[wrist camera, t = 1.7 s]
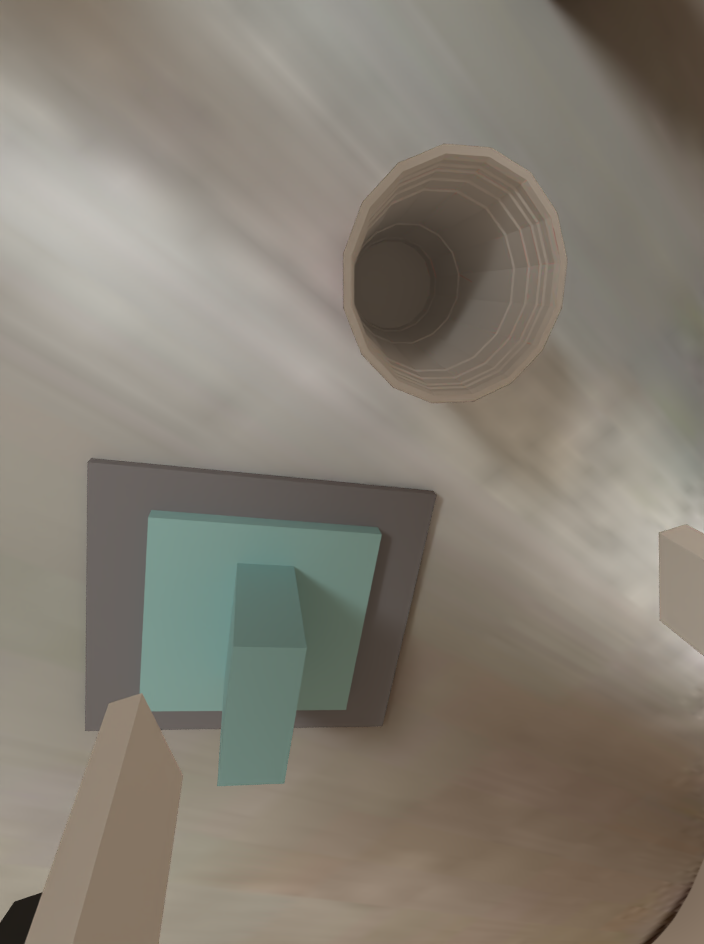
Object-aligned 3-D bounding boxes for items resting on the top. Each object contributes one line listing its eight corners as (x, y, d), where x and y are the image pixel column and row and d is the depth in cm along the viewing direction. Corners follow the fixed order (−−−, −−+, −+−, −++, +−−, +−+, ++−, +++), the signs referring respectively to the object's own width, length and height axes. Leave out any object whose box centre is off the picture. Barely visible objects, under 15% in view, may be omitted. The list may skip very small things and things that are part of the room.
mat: (88, 722, 40) (85, 730, 40) (91, 458, 34) (87, 462, 33) (380, 719, 46) (382, 726, 45) (432, 490, 39) (436, 494, 38)
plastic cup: (498, 308, 35) (611, 318, 24) (368, 398, 36) (421, 449, 25) (421, 151, 31) (515, 78, 20) (275, 256, 32) (289, 240, 21)
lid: (141, 699, 40) (107, 828, 30) (151, 510, 35) (114, 593, 25) (343, 699, 43) (369, 813, 34) (377, 527, 38) (419, 605, 29)
